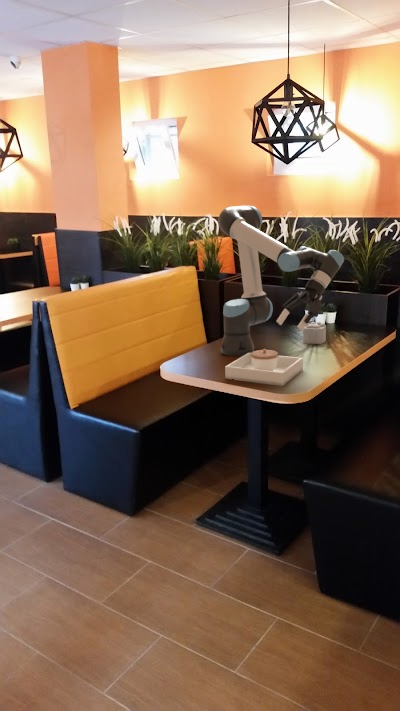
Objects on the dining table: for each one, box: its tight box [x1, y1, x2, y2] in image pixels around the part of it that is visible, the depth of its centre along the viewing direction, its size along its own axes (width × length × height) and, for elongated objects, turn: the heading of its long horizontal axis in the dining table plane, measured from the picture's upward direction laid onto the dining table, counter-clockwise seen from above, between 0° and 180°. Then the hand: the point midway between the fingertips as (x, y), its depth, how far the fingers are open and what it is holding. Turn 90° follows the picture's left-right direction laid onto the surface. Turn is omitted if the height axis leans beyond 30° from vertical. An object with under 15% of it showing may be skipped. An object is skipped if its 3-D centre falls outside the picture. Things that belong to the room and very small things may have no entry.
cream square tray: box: [224, 353, 304, 387], centre depth 236 cm, size 24×22×5 cm
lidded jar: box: [251, 348, 279, 371], centre depth 235 cm, size 11×11×9 cm
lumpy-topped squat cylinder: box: [302, 321, 327, 345], centre depth 284 cm, size 10×13×9 cm
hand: (288, 326), depth 239 cm, fingers open, 13 cm apart
